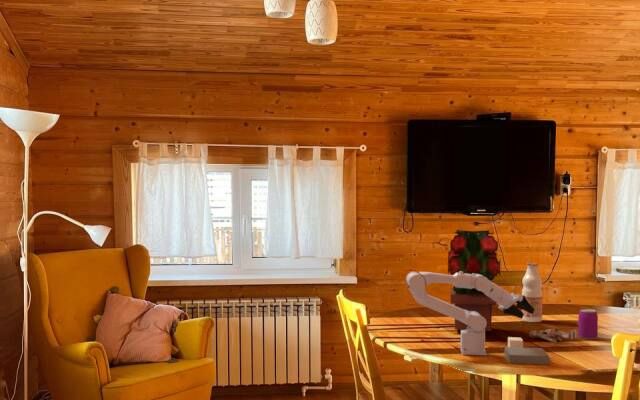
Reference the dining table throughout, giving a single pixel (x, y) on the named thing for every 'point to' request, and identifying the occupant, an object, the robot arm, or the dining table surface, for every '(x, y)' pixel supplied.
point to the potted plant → (473, 271)
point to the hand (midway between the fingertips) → (528, 314)
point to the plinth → (526, 355)
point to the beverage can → (588, 324)
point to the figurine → (552, 334)
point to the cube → (515, 342)
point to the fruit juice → (532, 293)
